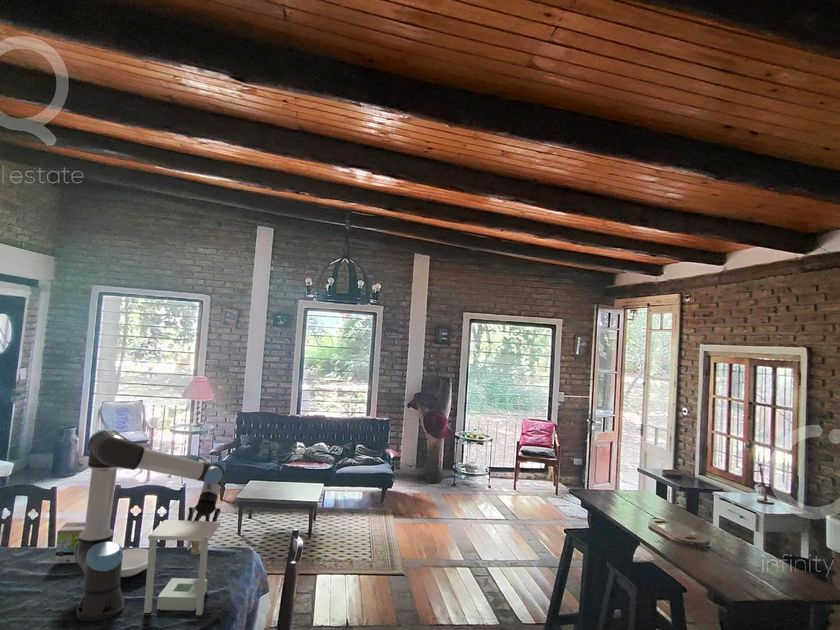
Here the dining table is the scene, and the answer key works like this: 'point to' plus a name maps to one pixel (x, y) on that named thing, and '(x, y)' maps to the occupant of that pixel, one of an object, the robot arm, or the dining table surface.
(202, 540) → the socket
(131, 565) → the bowl
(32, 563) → the dining table surface
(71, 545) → the tea box
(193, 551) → the dowel
